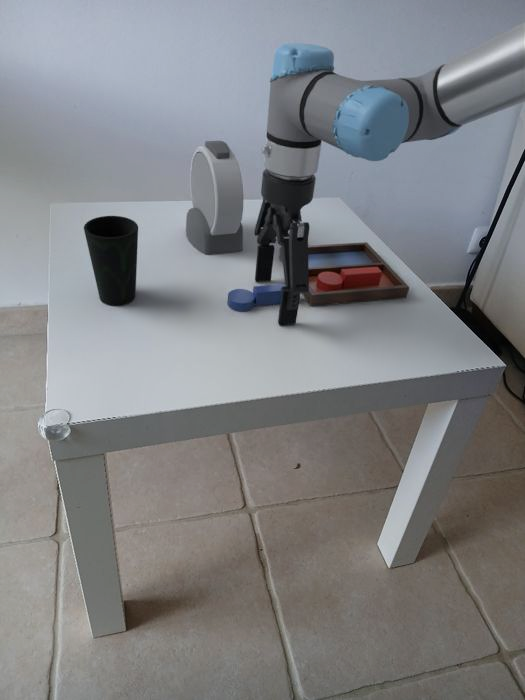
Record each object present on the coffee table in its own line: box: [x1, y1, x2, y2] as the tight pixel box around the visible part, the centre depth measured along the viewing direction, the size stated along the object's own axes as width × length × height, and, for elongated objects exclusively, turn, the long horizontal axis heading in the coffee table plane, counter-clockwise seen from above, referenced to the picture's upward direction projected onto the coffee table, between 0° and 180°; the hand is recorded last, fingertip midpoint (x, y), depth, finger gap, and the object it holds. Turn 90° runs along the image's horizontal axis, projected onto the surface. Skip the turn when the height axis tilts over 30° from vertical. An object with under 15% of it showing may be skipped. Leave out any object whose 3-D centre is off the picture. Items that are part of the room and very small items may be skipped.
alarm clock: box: [185, 140, 244, 256], centre depth 98 cm, size 16×10×18 cm, turn 23°
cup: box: [83, 215, 139, 307], centre depth 80 cm, size 8×8×12 cm
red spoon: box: [317, 267, 382, 292], centre depth 91 cm, size 11×4×3 cm, turn 106°
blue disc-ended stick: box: [226, 283, 285, 312], centre depth 86 cm, size 11×4×3 cm, turn 106°
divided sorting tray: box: [278, 241, 410, 307], centre depth 95 cm, size 18×17×2 cm
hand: (274, 300), depth 87 cm, fingers open, 12 cm apart
